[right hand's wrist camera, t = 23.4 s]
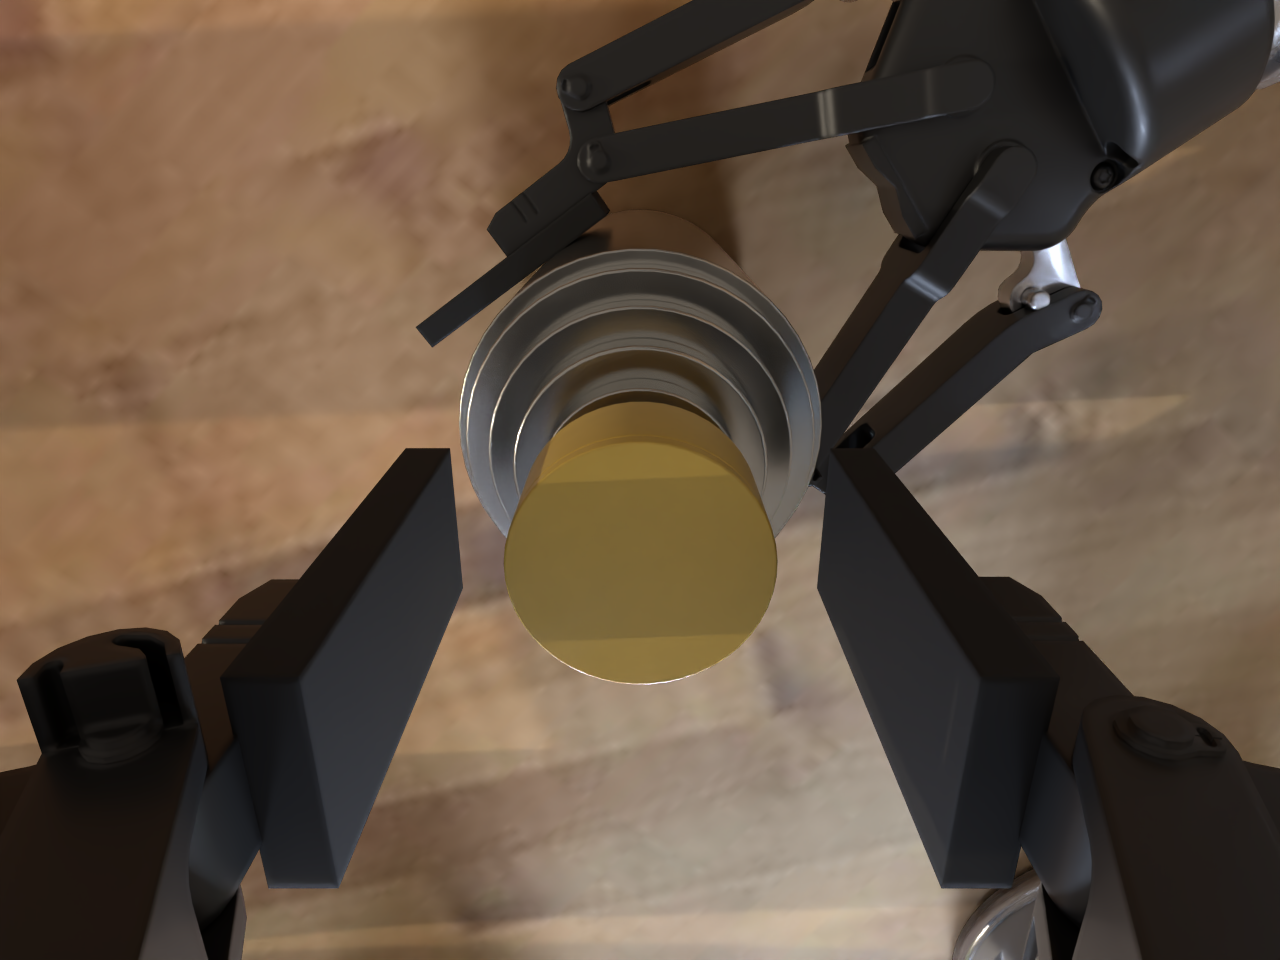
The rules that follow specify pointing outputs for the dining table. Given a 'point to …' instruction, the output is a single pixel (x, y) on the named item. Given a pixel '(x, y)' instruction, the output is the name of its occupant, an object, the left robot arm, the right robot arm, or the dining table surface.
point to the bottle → (640, 359)
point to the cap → (640, 545)
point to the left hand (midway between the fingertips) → (525, 439)
